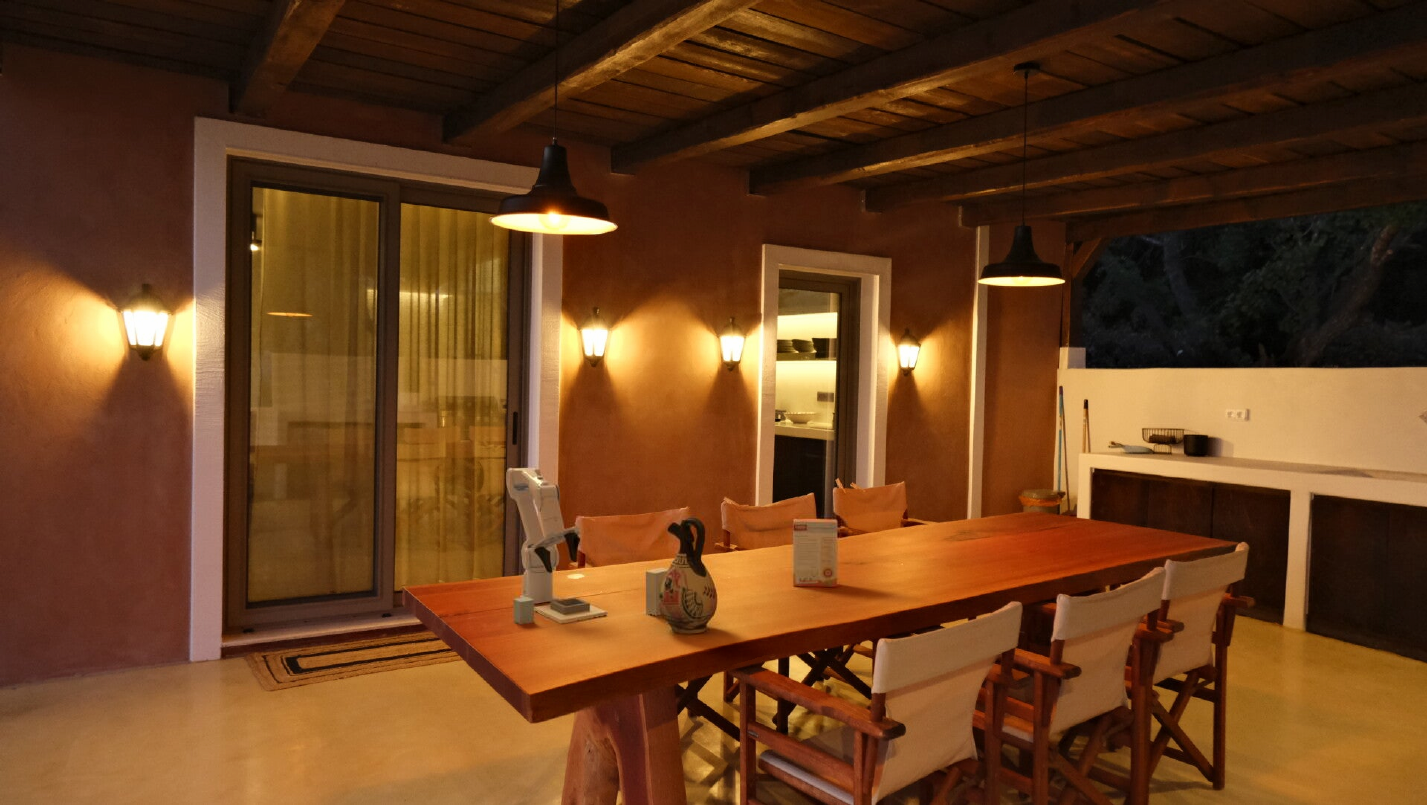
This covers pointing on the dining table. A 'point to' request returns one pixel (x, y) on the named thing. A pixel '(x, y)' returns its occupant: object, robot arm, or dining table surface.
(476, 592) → the dining table surface
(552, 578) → the robot arm
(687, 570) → the ceramic jug
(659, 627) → the dining table surface
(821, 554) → the cracker box
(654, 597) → the skincare box
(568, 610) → the socket holder
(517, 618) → the peg
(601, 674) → the dining table surface
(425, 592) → the dining table surface
